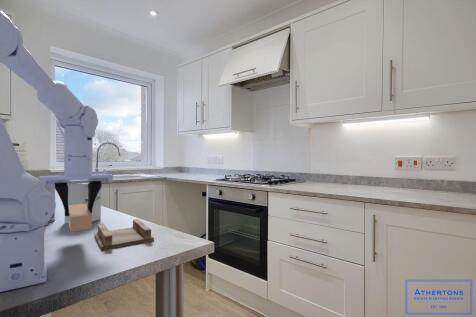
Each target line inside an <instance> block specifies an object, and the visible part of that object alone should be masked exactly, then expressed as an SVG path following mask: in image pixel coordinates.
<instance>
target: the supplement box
mask: <svg viewBox="0 0 476 317" xmlns="http://www.w3.org/2000/svg"><path fill="white" fill-rule="evenodd" d="M88 184H89V183H76V184H67V185H68V205H77V204H86V206H87V208H88ZM101 212H102V188H101V189H100V190H99V192H98V194H97V196H96V199H95V202H94V205H93V209H92V213H91V214H92V223H93V222H96V221H99V220H101V219H102V218H101V217H102V216H101V215H102V214H101ZM64 224H69V223H68V219H67V216H65V215H64Z"/></svg>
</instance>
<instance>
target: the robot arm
mask: <svg viewBox="0 0 476 317" xmlns="http://www.w3.org/2000/svg"><path fill="white" fill-rule="evenodd" d="M0 64H2V65H4V66H5V67H6V68H7V69H9V70H10V71H11V72H13V73H14V74H15V75H17V76H18V77H19V78H20V79H22V80H23V81H24V82H25V83H26V84H28V85H29V86H31V87H32V88H33V89H34V90H35V91H36V97H37V100H38V101H39V102H40V103H41V104H43V105H44V106H45V107H46V109H48V110H50V112H52V113H53V114H54V117H55V118H56V120H57V123H58V125H59V127H60V128H62V129H64V130H63V133H64V134H63V139H64V140H63V141H64V142H63V143H64V145H63V152H64V153H63V155H64V156H63V159H64V160H63V167H64V168H63V170H64V171H63V172H64V173H63V174H60V175H59V174H56V175H40V176H39V178H37V177H36V176H34V175H32V174H30V173H28V172H27V171H26V170H25V167H24V166H23V163H22V161H21V158H20V156H19V155H18V152H17V150H16V148H15V145H14V144H13V141H12V140H11V137H10V135H9V133H8V130H7V128H6V126H5V124H4V121H3V120H2V118H1V116H0V293H2V292H7V291H10V290H16V289H19V288H25V287H29V286H33V285H39V284H42V283H45V282H47V281H48V280H47V276H48V261H47V260H45V226H47V225H48V224H49V223H48V221H49V220H50V219H51V218H52V216H53V214H54V212H55V213H56V208H57V207H56V204H57V203H56V197H55V198H54V196H53V194H52V193H51V192H49V191H48V190H47V189H46V188H45V186H44V185H55V192H57V194H58V196H59V198H60V201H61V203H62V205H63V210H64V217H65V216H69V207H68V185H67V184H76V183H89V184H88V210H89V211H90V213H92V209H93V205H94V202H95V199H96V196H97V194H98V192H99V190H100V189H101V190H102V183H113V182H114V180H113V179H114V175H113V174H112V173H93V139H94V138H95V135H96V129H97V127H98V125H99V118H98V114H97V112H96V110H95V109H94V108H93V107H91V106H89V105H84V103H83V102H82V101H81V100H80V99H79V98H78V97H77V96H76V95H75V94H74V93H73V91H71V90H70V88H69V87H68V85H67V84H66V83H65V82H62V81H60V80H53V79H52V78H51V77H50V76H49V74H48V73H47V72H46V71H45V69H44V68H43V67H42V66H41V64H40V63H39V62H38V61H37V60H36V59H35V57H34V56H33V55H32V54H31V52H30V51H29V50H28V49H27V48H26V46H25V45H24V39H23V33H22V31H21V30H20V29H19V28H18V27H17V26H16V25H15V24H14V23H13V21H12V20H11V18H10V17H9V16H8V15H7V14H6V13H5V12H3V11H2V10H1V9H0Z"/></svg>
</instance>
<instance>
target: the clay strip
mask: <svg viewBox="0 0 476 317" xmlns="http://www.w3.org/2000/svg"><path fill="white" fill-rule="evenodd" d="M68 207H69V216H67V219H68V223H67V224H68V227H69V232H75V231H76V232H77V231H83V230H91V229H93V222H92V214H91V213H90V211H89V210H88V208H87V206H86V204H77V205H68Z"/></svg>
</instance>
